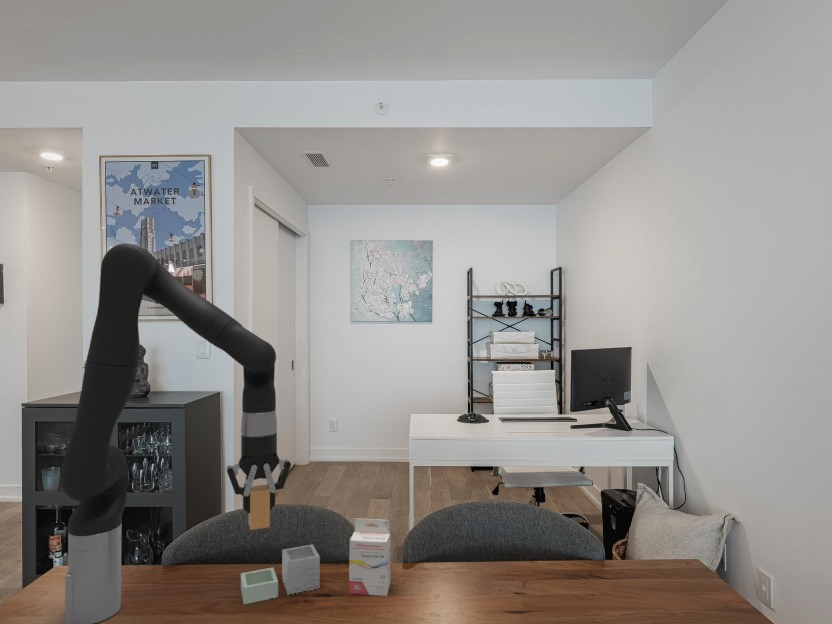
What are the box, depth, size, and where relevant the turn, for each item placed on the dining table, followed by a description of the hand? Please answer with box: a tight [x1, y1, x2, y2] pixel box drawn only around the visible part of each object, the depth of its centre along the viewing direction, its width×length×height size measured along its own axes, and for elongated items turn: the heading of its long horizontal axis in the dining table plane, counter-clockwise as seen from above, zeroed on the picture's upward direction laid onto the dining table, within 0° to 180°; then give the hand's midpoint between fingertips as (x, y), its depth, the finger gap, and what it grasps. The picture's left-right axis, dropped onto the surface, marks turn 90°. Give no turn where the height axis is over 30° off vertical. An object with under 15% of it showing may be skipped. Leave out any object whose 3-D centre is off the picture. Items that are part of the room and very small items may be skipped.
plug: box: [248, 484, 271, 531], centre depth 113 cm, size 4×4×8 cm
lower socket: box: [240, 567, 279, 605], centre depth 113 cm, size 7×7×3 cm
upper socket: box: [281, 543, 321, 596], centre depth 116 cm, size 7×7×7 cm
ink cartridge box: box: [348, 517, 391, 597], centre depth 114 cm, size 9×5×15 cm, turn 84°
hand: (259, 510), depth 113 cm, fingers closed on plug, 4 cm apart
